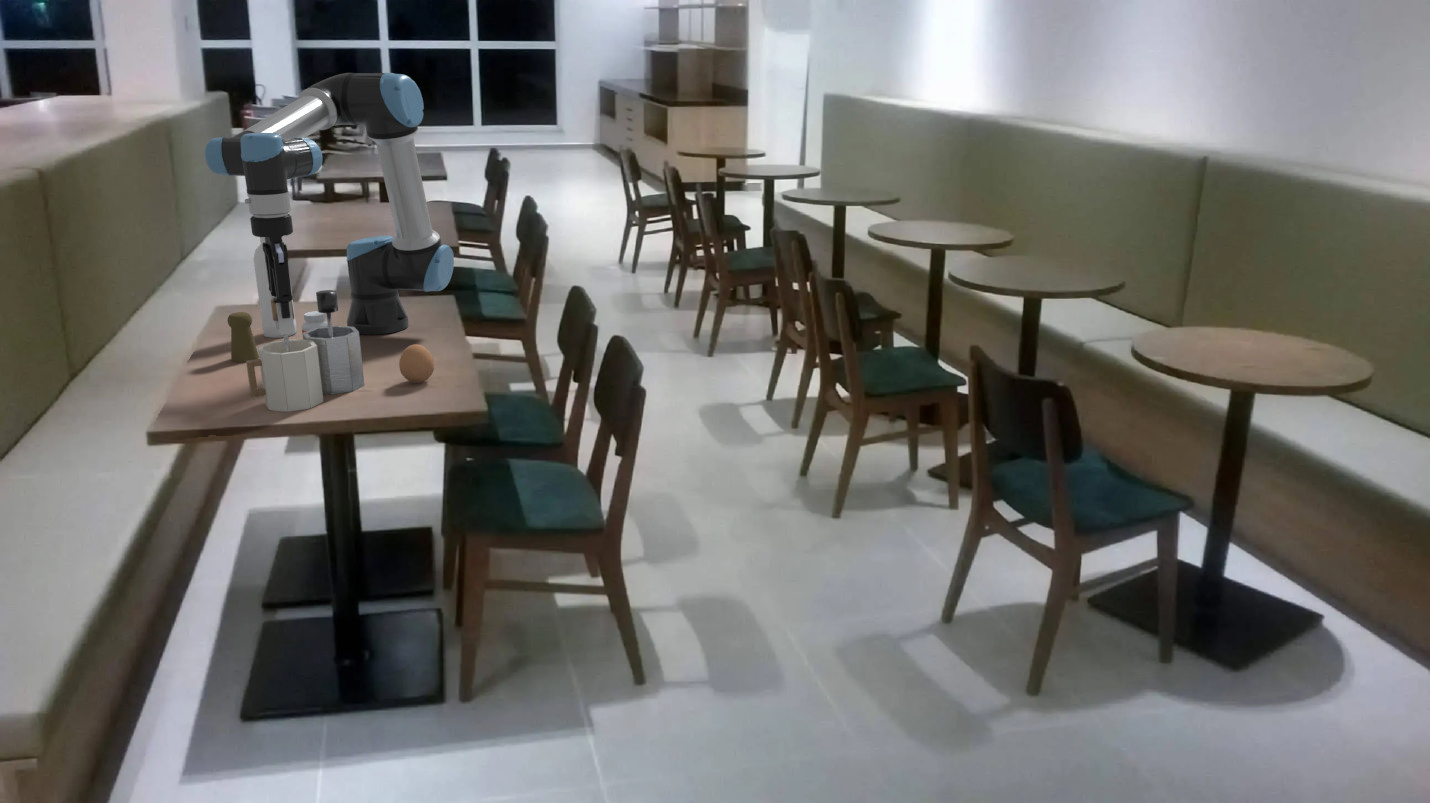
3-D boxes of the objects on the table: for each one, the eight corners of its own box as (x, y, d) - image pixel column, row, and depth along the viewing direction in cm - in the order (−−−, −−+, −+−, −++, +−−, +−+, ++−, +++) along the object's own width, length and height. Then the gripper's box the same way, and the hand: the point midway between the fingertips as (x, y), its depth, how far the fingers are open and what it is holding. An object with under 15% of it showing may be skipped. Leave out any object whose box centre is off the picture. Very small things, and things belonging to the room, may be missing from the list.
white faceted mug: (316, 391, 234) (309, 337, 230) (326, 405, 225) (320, 349, 221) (249, 401, 227) (241, 345, 223) (257, 416, 218) (249, 358, 215)
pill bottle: (301, 363, 253) (296, 316, 250) (310, 355, 259) (304, 310, 256) (329, 362, 254) (323, 316, 250) (337, 355, 259) (331, 310, 256)
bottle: (300, 335, 276) (285, 215, 267) (268, 339, 272) (251, 218, 263) (292, 328, 283) (277, 211, 273) (260, 332, 278) (244, 214, 269)
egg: (406, 377, 243) (403, 340, 241) (439, 377, 243) (436, 340, 240) (396, 387, 236) (392, 349, 234) (430, 387, 236) (427, 349, 233)
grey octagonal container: (356, 375, 244) (350, 323, 240) (368, 388, 235) (362, 334, 231) (293, 385, 238) (286, 331, 234) (303, 398, 229) (296, 343, 225)
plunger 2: (348, 367, 241) (339, 287, 235) (355, 375, 235) (346, 293, 229) (315, 371, 237) (306, 290, 232) (322, 380, 232) (312, 297, 226)
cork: (249, 363, 253) (242, 316, 250) (225, 361, 254) (218, 315, 251) (264, 356, 259) (258, 310, 255) (241, 354, 260) (234, 309, 257)
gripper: (243, 210, 219) (258, 323, 227) (257, 222, 205) (272, 343, 213) (282, 207, 223) (296, 319, 230) (298, 219, 209) (313, 337, 216)
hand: (285, 330), depth 222 cm, fingers closed on plunger 1, 4 cm apart
